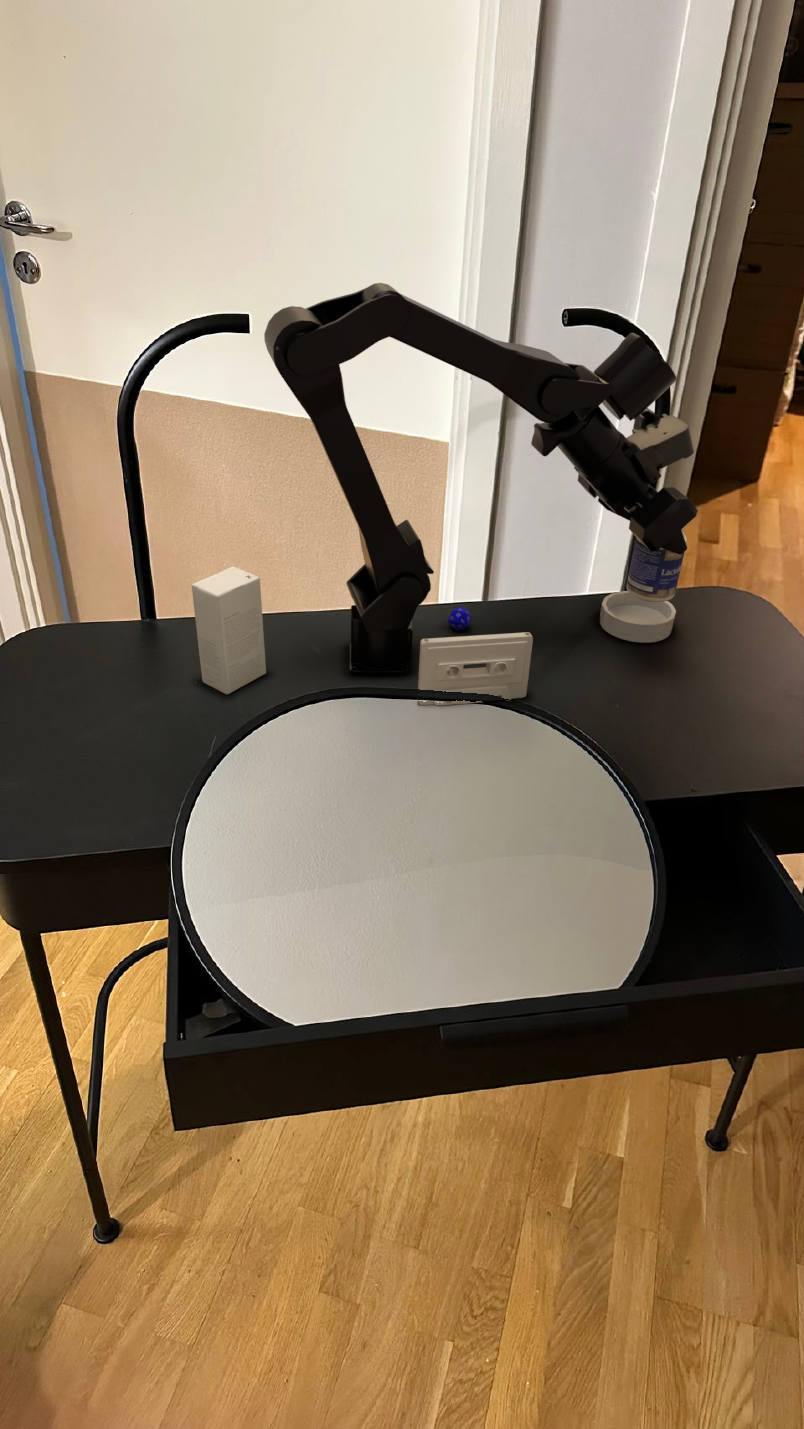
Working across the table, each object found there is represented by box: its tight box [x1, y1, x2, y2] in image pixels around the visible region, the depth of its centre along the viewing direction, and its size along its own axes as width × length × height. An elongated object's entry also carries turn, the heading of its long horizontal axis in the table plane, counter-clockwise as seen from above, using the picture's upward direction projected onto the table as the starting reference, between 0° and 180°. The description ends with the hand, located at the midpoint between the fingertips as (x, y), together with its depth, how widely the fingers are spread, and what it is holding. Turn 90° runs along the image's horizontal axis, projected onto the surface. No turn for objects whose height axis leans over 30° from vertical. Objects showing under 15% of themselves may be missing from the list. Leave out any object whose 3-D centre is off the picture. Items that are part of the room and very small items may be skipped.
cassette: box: [417, 631, 534, 707], centre depth 104 cm, size 12×2×8 cm, turn 100°
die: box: [447, 606, 473, 632], centre depth 119 cm, size 3×3×3 cm
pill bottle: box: [626, 525, 688, 602], centre depth 113 cm, size 6×6×10 cm
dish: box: [599, 590, 677, 644], centre depth 121 cm, size 9×9×2 cm
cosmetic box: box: [191, 566, 267, 695], centre depth 105 cm, size 6×4×12 cm
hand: (671, 540), depth 113 cm, fingers closed on pill bottle, 6 cm apart
